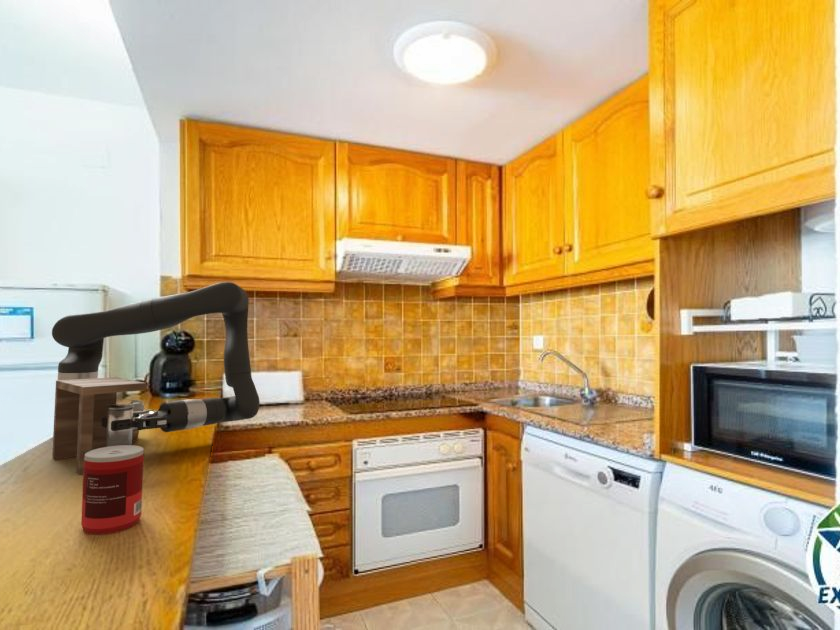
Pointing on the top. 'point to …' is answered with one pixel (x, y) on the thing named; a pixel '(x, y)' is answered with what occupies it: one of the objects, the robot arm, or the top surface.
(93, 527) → the canned food
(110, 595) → the top surface
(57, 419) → the walnut shelf
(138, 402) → the food container
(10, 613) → the top surface
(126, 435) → the steel tin
